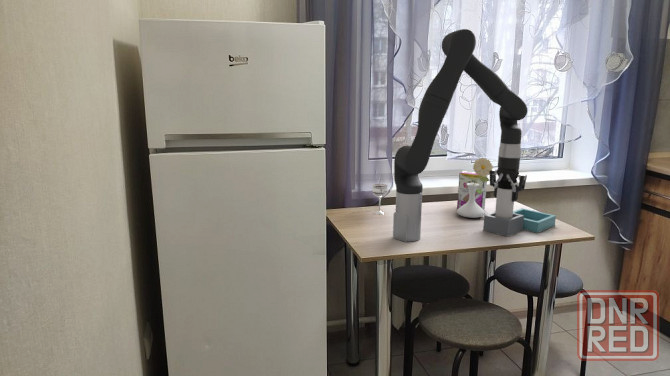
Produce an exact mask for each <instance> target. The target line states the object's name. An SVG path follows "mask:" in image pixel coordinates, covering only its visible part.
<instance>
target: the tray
mask: <svg viewBox="0 0 670 376" xmlns="http://www.w3.org/2000/svg"><path fill="white" fill-rule="evenodd" d="M513 213H516V214H520V215H524V222H523V230H524V231H529V232H532V233H536V234H538V233H541V232H542V231H545V230H548V229H551V228H552V227H554V226H556V219H557V215H554V214H550V213H545V212H540V211H536V210H531V209H527V208H519V209H516V210H513Z"/></svg>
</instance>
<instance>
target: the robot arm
mask: <svg viewBox="0 0 670 376" xmlns="http://www.w3.org/2000/svg"><path fill="white" fill-rule="evenodd" d="M476 39H477V38H476V36H475V33H474V32H473V31H472V30H470V29H466V28H461V29H458V30H454V31H452V32H448V34H446V35H445V36H444V37H443V39H442V41H441V50H442V53H443V55H444V56H445V59H444V62H443V64H442V66H441V68H440V70H439V71H438V73H437V74H436V76H435V77H433V79H432V81H431V82H430V84H429V85H428V87H427V88H426V90H425V92H424V94H423V97H422V100H421V101H420V104H419V108H418V114H417V115H418V117H417V129H416V132H415V135H414V136H415V137H414V139H413V141H412V143H411V145H402V146H401V147H399V148H398V149H397V151H396V153H395V155H394V162H393V165H394V166H393V168H394V171H393V173H394V174H393V175H394V179H393V180H394V183H395V187H396V188H395V192H396V194H395V211H394V212H393V220H392V221H393V222H392V223H393V225H392V226H393V227H392V238H393V239H396V240H397V241H398V240H399V241H402V242H404V243H407V242H416V241H418V240H421V233H422V232H421V231H422V230H421V228H422V209H423V207H422V206H423V183H422V182H421V180H420V177H419V174H420V175H421V173H423V171H425V169H426V168H427V165H428V164H429V161H430V157H431V155H432V150H433V147H434V144H435V140H436V138H437V135H438V133H439V131H440V128H441V126H442V123H443V121H444V118H445V116H446V114H447V112H448V109H449V107H450V104H451V102H452V99H453V97H454V94H455V91H456V89H457V86H458V84H459V82H460V79H461V77H462V74H463V72H464V73H466V74H467V76H469V77H470V78H471V79H472V80H473V81H474V83H475V84H477V86H478V88H480V89H481V90H482V91H483V92H484V94H485V95H486V96H487V98H489V100H491V101H492V102H493V103H494V104H496V105H499V107H500V108H499V112H498V116H499V124H500V125H499V126H500V130H501V132H500V140H499V141H500V143H499V148H498V157H497V158H498V159H497V170H496V169H494V168H493V169H492V170H490V174H489V180H490V181H489V186H491V187H493V188H494V189H493V195H494V198H495V199H496V198H497V189H498V188H497V187H498V182H500V181H502V182H511V186H512V189H513V192H512V202H514V203H515V202H517V200H518V199H519V193H520V192H522V191H524V190H525V187H526V183H527V182H526V181H527V178H528V177H527V176H528V175H527V174H521V173H520V172H519V170H520V164H521V154H522V149H521V148H522V147H521V146H522V145H521V144H522V142H521V141H522V128H520V127H519V125H518V121H522V120H523V119H525V118H526V117H527V115H528V106H527V104H526V102H525V101H524V100H523V99H522V98H521V97H520V96H519V95H517V94H516V93H515V91H512V90H511V89H510V88H509V87H508V86H507V84H506V83H505V82H504V80H503V79H502V78H501V77H500V76H499V75H498V74H497V73H496V72H495V71H494V70H492V68H490V67H488V66H487V65H486V64H484V63H482V61H480V60H479V59H478V58H477V57H476V55H474V53H475V52H474V51H475V49H476V45H477V40H476ZM497 177H498V178H497ZM517 179H518V180H519V181H518V180H517ZM515 180H517V181H516V182H515V183H513V181H515Z"/></svg>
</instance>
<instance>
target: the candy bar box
mask: <svg viewBox="0 0 670 376" xmlns="http://www.w3.org/2000/svg"><path fill="white" fill-rule="evenodd" d="M468 176H469V177H470V178H473V179H475V181H476V180H477V179H478V177H479V175H478V174H476V173H475V171H470V170H469V171H467V170H462V171H460V172H459V176H458V190H457V202H456V209H459V208H460V207H461V206H462V205H464V204H466V203H467V202H468V200H469V188H468V186H467V183H475V181H474V180H471V179H469V178H468ZM480 177H481V175H480ZM480 177H479V178H480ZM486 177H487V178H488V175H486ZM476 183H477V184H479V186H478V187H477V189H476V192H475V202H476V203H477V204H478V205H479V206H480V207H481V208H482V209H483V210H484V211H485V208H486V198H487V197H486V196H487V184H488V181H487V182H482V181H481V180H480V179H478V180H477V181H476Z"/></svg>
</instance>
